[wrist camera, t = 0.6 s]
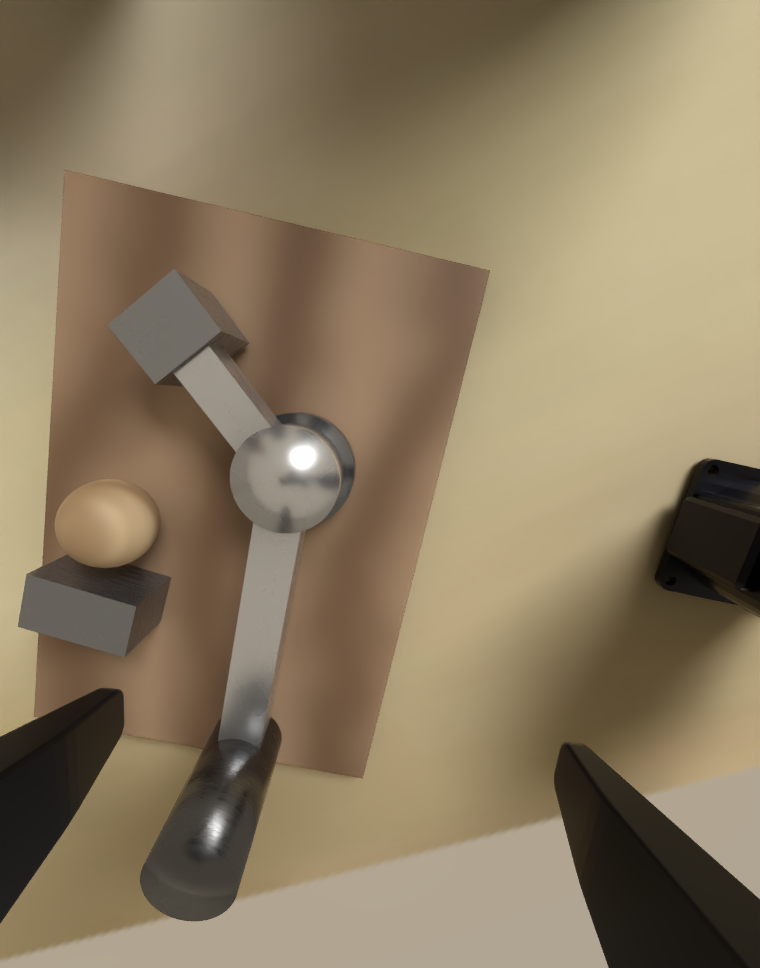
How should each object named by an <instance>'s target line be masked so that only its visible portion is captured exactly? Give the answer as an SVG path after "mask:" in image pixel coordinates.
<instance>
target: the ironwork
mask: <svg viewBox="0 0 760 968" xmlns="http://www.w3.org/2000/svg"><path fill="white" fill-rule="evenodd" d="M276 418H277V419H278V420H279V421H280V423H281V424H288V423H298V424H304V425H307V426H311V427H313V428H315V429H317V430H319V431H320V432H322V433H323V434H325V435H326V436H327V437H328V438H329V439H330V440H331V441H332V442H333V444H334V445H335V446H336V448H337V450H338V451H339V454H340V456H341V459H342V463H343V468H344V479H343V484H342V488H341V491H340V493H339V495H338V498H337V500H336V502H335V504H334V506H333V508H332V509H331V511H330V512H329V514H328V515H327V516H326V517H325V518H324V519H323V520H322V521H321V522H323V521H325V520H327V519H328V518H330V517H331V516H333V515H334V514H335V513H336V512H337V511H338V510H339V509H340V508H341V507H342V506H343V505H344V503H345V502H346V500H347V498H348V496H349V494H350V492H351V489H352V486H353V483H354V480H355V473H356V463H355V456H354V452H353V449H352V447H351V445H350V443H349V441H348V439H347V437H346V436H345V435H344V433H343V432H342V431H341V430H340V429H339V428H338V427H337V426H336V425H334V424H333V423H332V422H330V421H329V420H327V419H325V418H323V417H321V416H319V415H315V414H312V413H305V412H294V413H286V414H281V415H277V416H276ZM170 582H171V577H169V576H166V575H163V574H159V573H156V572H153V571H149V570H146V569H143V568H140V567H136V566H133V565H130V564H125V565H122V566H118V567H111V568H98V567H92V566H88V565H85V564H82V563H80V562H78V561H76V560H74V559H73V558H71V557H70V556H69V555H68V554H67V555H65V556H63V557H61V558H59V559H57V560H55V561H53V562H51V563H49V564H47V565H44V566H42V567H40V568H38V569H36V570H34V571H32V572H30V573H28V574H27V575H26V581H25V587H24V593H23V599H22V605H21V611H20V617H19V623H18V627H21V628H24V629H28V630H31V631H35V632H38V633H42V634H45V635H49V636H52V637H55V638H59V639H62V640H66V641H69V642H73V643H76V644H80V645H83V646H87V647H90V648H93V649H97V650H100V651H104V652H107V653H111V654H114V655H118V656H121V657H126V656H127V655H128V654H129V653H130V652H131V651H132V650H133V649H134V648H135V647H136V646H137V645H138V644H139V643H140V642H141V641H142V640H143V639H144V638H145V637H146V636H147V635H148V634H149V633H150V632H151V631H152V630H153V629H154V628H155V627H156V626H157V625H158V624H159V623H160V622H161V618H162V614H163V610H164V606H165V602H166V598H167V594H168V590H169V586H170Z"/></svg>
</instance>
